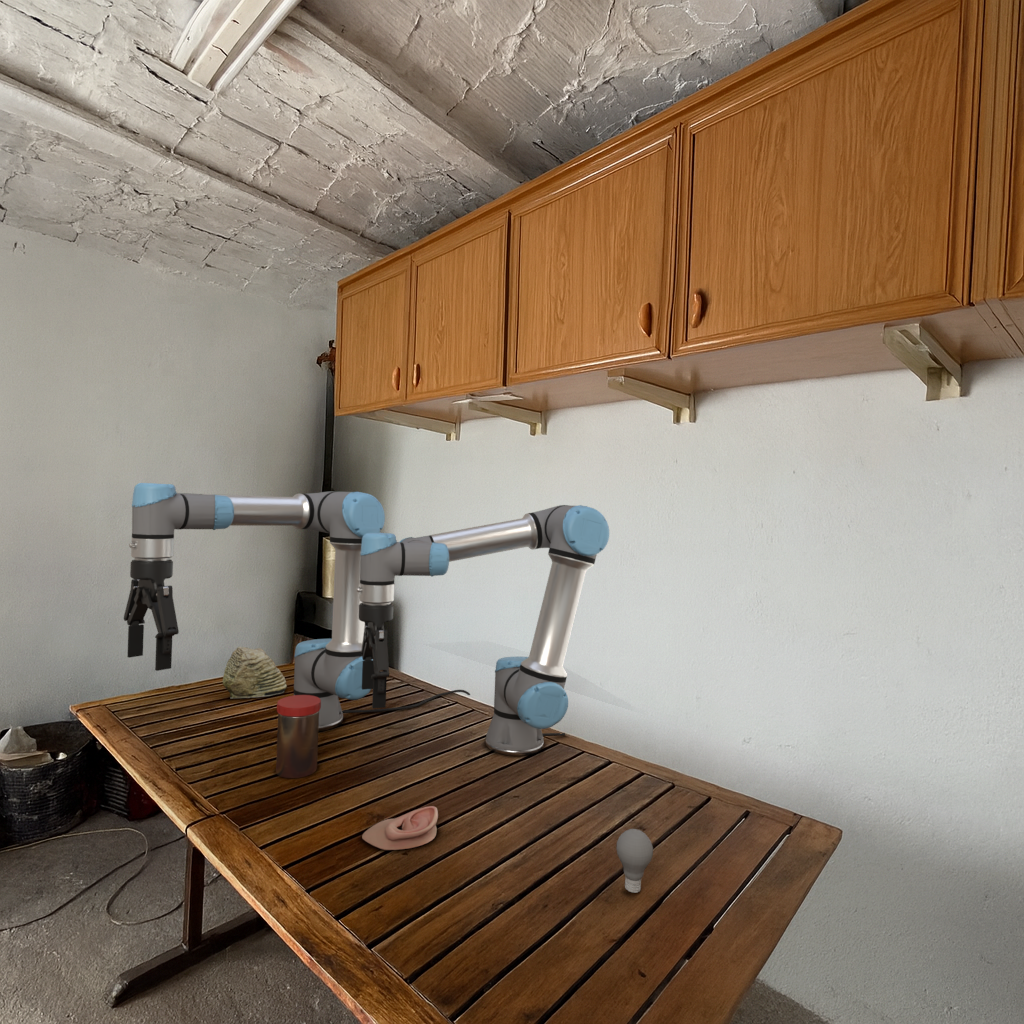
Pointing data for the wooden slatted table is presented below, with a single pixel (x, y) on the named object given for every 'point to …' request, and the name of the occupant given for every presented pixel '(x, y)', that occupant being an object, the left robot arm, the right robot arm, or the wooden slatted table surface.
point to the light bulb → (634, 857)
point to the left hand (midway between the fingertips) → (148, 662)
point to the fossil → (252, 674)
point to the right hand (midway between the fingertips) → (373, 697)
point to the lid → (298, 705)
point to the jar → (297, 745)
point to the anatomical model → (404, 830)
